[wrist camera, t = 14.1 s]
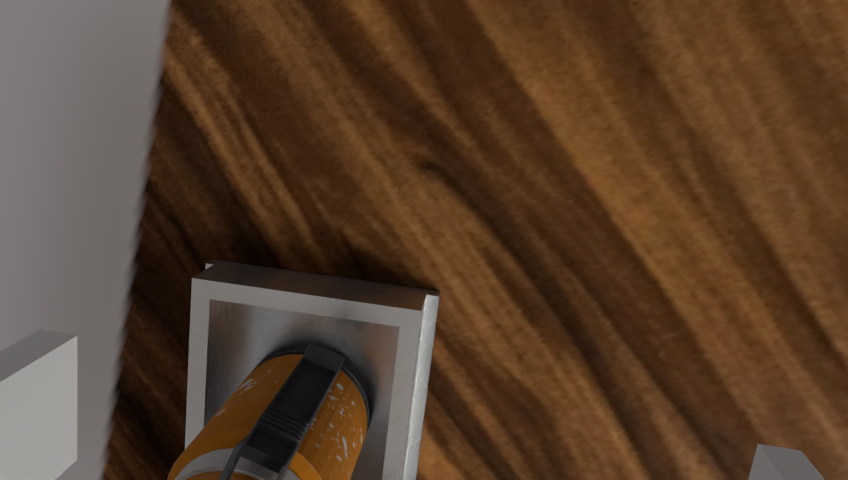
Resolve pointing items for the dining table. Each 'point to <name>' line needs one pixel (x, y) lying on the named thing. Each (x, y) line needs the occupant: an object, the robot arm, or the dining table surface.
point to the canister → (285, 422)
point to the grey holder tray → (325, 327)
